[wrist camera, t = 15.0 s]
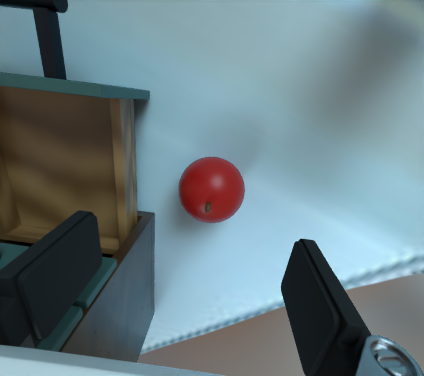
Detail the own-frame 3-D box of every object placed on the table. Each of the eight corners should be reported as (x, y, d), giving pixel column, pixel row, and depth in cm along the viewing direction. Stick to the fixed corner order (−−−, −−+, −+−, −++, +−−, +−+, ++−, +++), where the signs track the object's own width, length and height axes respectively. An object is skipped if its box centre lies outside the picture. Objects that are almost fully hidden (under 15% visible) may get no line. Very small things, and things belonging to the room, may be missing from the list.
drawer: (-38, -3, 17) (-230, -79, 10) (149, 17, 17) (89, -47, 9) (22, 219, 25) (-61, 267, 18) (150, 237, 24) (118, 293, 17)
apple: (174, 180, 22) (151, 211, 16) (211, 137, 20) (202, 154, 14) (215, 214, 23) (211, 257, 17) (254, 177, 21) (265, 209, 15)
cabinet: (11, 181, 23) (-365, 318, 9) (154, 200, 23) (19, 379, 8) (42, 296, 30) (-139, 486, 15) (154, 313, 30) (79, 524, 15)
